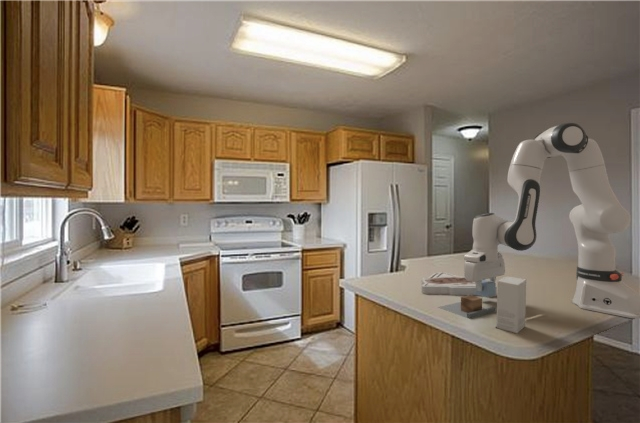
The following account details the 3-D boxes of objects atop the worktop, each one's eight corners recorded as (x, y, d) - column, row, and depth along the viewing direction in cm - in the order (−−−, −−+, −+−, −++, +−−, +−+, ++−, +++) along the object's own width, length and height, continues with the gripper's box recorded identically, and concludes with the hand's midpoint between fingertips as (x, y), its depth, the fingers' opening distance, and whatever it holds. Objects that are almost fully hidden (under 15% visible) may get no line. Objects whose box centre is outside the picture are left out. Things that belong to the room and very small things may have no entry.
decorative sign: (499, 298, 143) (474, 280, 172) (500, 288, 142) (474, 272, 172) (422, 296, 146) (410, 279, 176) (422, 287, 146) (410, 271, 175)
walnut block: (482, 312, 122) (482, 298, 122) (472, 314, 120) (472, 300, 120) (470, 308, 127) (470, 295, 127) (460, 310, 125) (460, 296, 124)
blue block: (495, 295, 134) (495, 282, 133) (487, 297, 131) (487, 284, 131) (484, 292, 138) (484, 280, 138) (476, 294, 136) (475, 281, 135)
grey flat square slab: (495, 313, 123) (495, 307, 123) (469, 320, 116) (469, 314, 116) (463, 302, 135) (463, 297, 135) (437, 308, 129) (437, 303, 129)
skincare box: (505, 321, 115) (505, 275, 114) (527, 326, 110) (527, 279, 109) (495, 328, 109) (496, 280, 108) (518, 334, 104) (519, 283, 104)
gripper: (494, 250, 142) (495, 283, 142) (460, 256, 132) (461, 291, 133) (509, 252, 136) (509, 286, 137) (475, 258, 126) (475, 295, 127)
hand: (485, 289), depth 135 cm, fingers closed on blue block, 5 cm apart
